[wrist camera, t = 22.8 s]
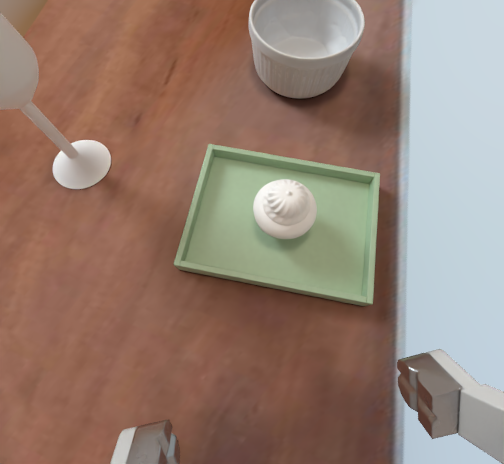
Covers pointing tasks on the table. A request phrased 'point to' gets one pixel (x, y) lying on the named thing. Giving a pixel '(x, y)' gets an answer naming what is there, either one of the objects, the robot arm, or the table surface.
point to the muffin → (285, 209)
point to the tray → (283, 250)
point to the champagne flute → (20, 95)
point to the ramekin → (303, 43)
